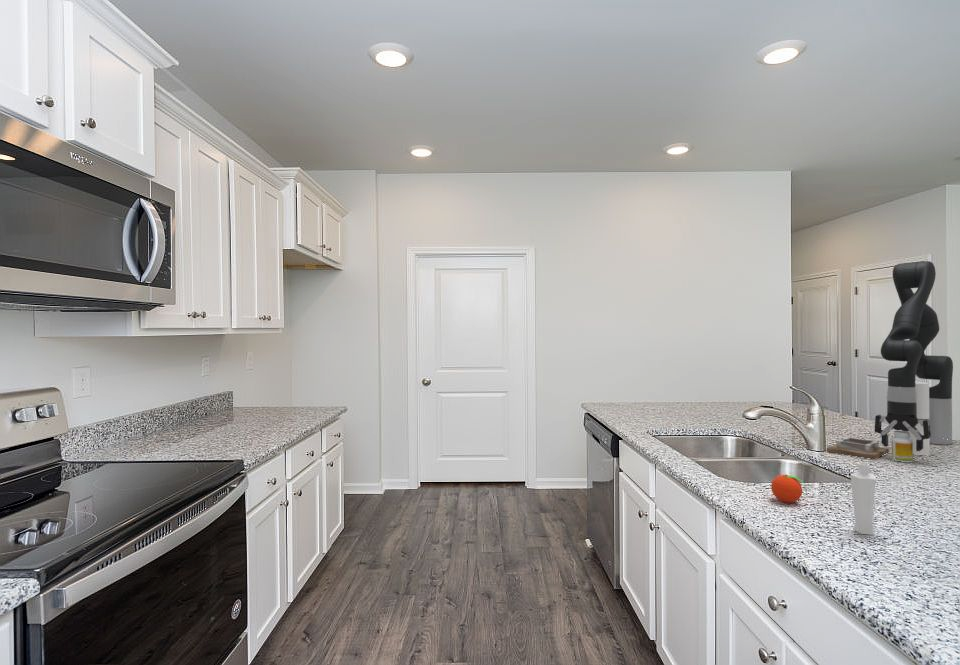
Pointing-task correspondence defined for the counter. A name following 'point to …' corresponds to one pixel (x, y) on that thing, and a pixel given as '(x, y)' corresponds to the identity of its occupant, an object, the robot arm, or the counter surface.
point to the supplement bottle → (902, 447)
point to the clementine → (786, 488)
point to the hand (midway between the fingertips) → (901, 448)
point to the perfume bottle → (863, 499)
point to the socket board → (858, 448)
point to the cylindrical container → (921, 416)
